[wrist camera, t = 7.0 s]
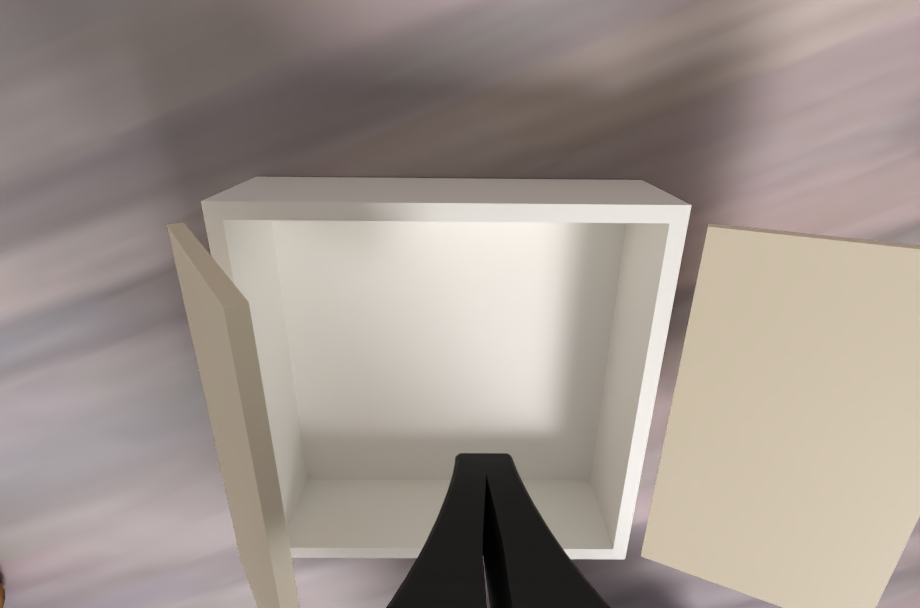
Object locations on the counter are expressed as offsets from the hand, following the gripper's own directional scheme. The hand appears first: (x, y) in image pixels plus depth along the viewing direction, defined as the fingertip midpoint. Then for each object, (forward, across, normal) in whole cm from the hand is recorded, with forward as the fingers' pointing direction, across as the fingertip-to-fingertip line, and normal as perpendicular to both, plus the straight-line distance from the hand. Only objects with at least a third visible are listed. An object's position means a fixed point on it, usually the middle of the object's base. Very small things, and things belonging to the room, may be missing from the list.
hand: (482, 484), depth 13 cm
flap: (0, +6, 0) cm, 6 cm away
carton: (+7, +1, 0) cm, 7 cm away
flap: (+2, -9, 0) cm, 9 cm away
